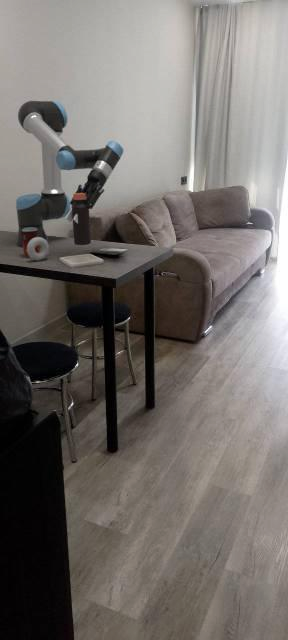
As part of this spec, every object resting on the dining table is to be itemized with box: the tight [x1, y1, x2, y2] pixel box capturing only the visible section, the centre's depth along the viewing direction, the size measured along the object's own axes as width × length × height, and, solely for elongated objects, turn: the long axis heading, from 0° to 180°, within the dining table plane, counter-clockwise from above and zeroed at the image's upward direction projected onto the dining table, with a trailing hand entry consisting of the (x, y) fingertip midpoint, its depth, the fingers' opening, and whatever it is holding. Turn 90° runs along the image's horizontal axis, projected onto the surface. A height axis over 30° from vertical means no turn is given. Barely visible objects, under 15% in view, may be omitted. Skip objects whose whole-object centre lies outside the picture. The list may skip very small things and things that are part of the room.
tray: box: [59, 253, 104, 269], centre depth 209 cm, size 14×14×2 cm
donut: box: [27, 237, 50, 261], centre depth 212 cm, size 10×4×10 cm, turn 128°
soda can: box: [22, 227, 41, 258], centre depth 220 cm, size 7×7×12 cm
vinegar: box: [71, 192, 92, 246], centre depth 202 cm, size 7×7×20 cm
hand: (71, 220), depth 201 cm, fingers open, 4 cm apart
